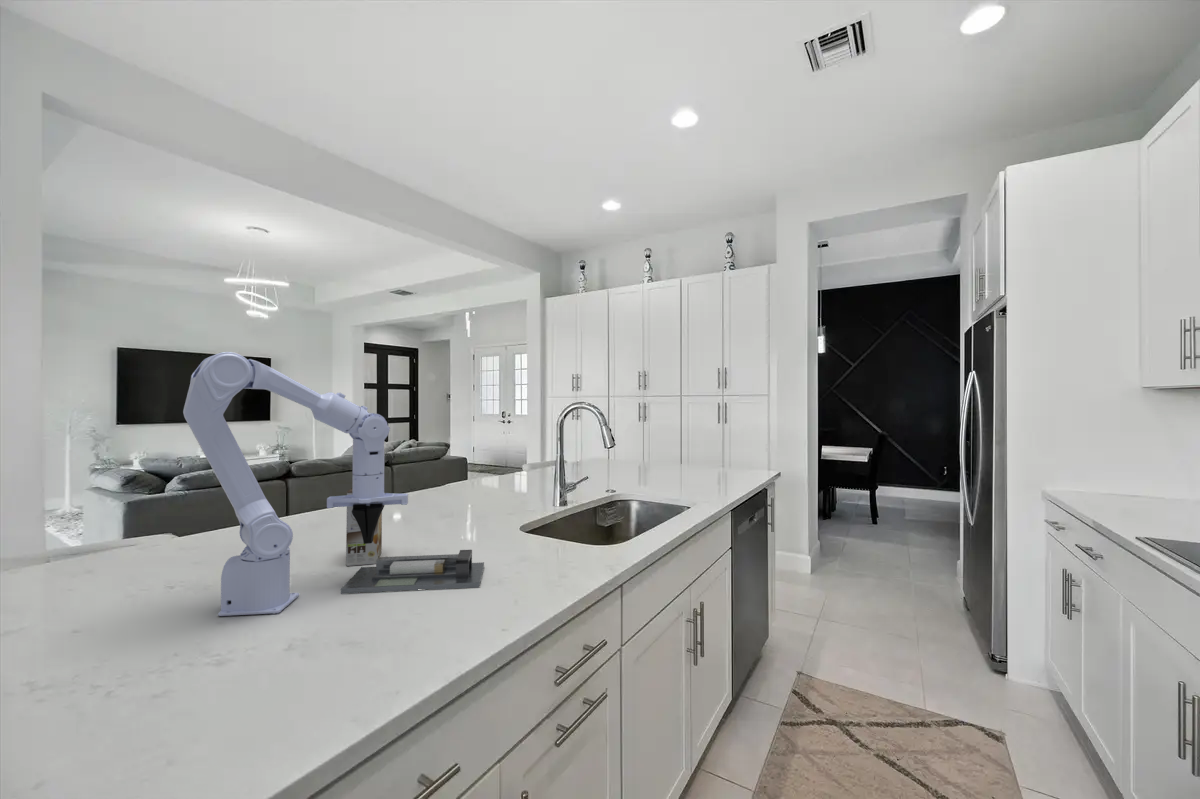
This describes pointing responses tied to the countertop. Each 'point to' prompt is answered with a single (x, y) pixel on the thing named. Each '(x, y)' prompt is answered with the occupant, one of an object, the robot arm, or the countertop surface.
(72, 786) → the countertop surface
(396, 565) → the rectangular block
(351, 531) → the coffee box
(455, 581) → the heatsink base
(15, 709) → the countertop surface
